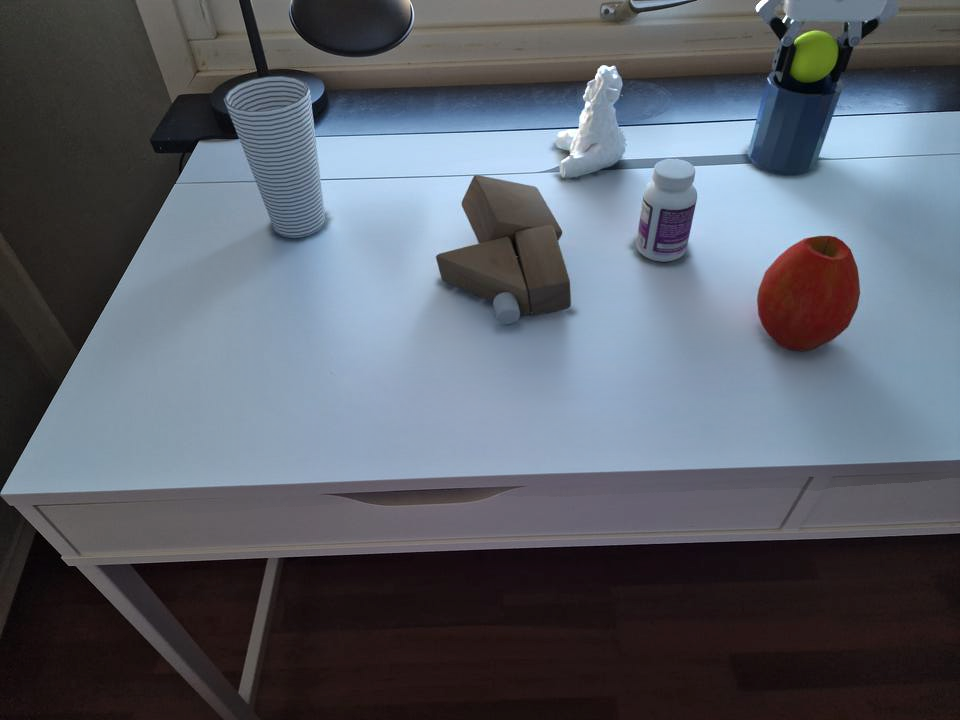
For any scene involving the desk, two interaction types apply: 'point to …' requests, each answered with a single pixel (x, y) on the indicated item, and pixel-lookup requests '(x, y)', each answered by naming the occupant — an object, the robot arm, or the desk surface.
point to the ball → (814, 56)
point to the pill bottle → (667, 211)
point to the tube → (792, 124)
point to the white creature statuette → (595, 129)
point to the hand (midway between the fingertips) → (805, 75)
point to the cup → (280, 150)
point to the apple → (809, 293)
